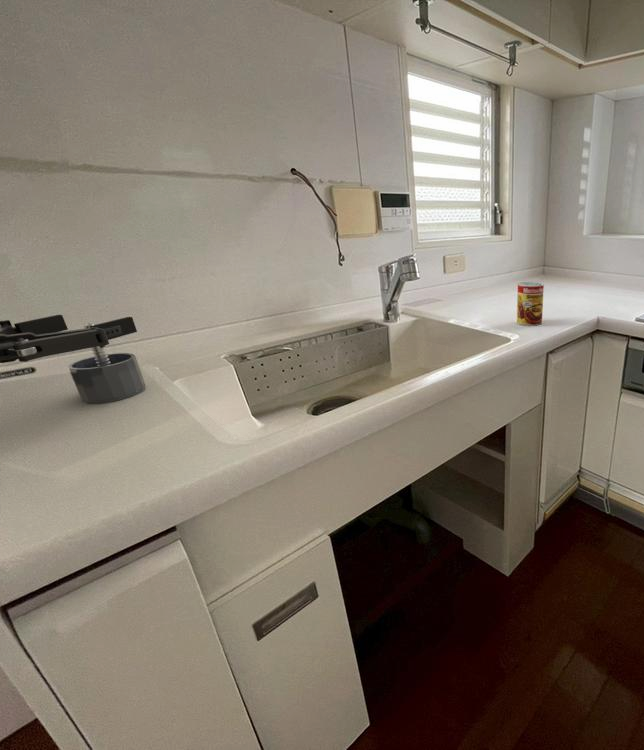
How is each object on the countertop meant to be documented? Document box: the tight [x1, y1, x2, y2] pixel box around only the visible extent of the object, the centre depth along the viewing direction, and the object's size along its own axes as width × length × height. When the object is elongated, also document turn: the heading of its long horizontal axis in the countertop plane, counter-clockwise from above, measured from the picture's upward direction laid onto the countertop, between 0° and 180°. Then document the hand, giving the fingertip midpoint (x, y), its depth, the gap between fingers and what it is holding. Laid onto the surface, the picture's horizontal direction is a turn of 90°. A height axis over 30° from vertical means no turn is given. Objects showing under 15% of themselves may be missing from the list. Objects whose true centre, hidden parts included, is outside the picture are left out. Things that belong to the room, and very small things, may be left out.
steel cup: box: [67, 352, 147, 405], centre depth 73 cm, size 9×9×6 cm
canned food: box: [516, 281, 545, 327], centre depth 124 cm, size 8×8×12 cm
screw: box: [83, 322, 111, 367], centre depth 72 cm, size 13×5×5 cm
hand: (98, 323), depth 71 cm, fingers open, 13 cm apart
